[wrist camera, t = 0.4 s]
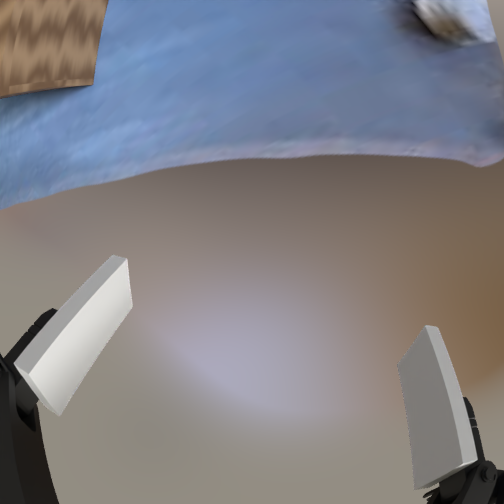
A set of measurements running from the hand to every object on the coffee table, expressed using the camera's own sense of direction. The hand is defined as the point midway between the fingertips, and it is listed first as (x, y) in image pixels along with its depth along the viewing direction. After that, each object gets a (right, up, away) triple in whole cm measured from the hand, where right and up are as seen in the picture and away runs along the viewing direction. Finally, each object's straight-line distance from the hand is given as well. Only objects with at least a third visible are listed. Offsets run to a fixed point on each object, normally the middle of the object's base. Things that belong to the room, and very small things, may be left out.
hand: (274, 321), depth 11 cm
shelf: (-31, +37, +17) cm, 52 cm away
